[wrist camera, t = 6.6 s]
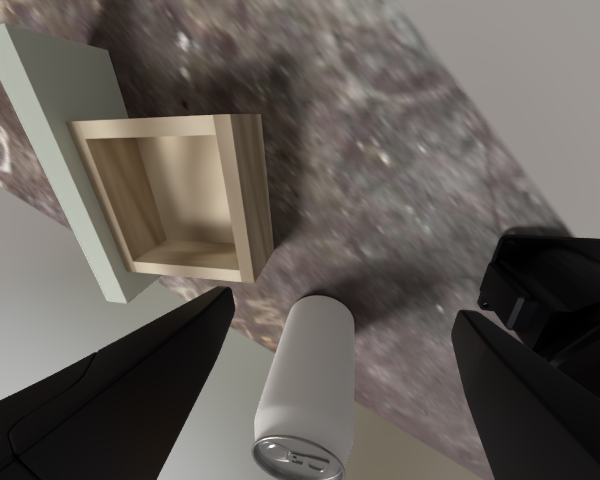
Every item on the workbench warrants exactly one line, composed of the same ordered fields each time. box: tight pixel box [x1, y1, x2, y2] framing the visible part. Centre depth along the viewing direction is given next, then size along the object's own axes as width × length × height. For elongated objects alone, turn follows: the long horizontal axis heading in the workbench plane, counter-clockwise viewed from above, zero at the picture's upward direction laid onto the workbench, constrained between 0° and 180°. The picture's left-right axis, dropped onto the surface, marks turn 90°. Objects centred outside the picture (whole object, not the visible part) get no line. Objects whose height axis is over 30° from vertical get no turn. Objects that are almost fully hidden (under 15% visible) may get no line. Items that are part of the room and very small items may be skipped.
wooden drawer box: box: [65, 114, 274, 283], centre depth 19 cm, size 11×11×5 cm
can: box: [251, 295, 354, 480], centre depth 20 cm, size 6×6×12 cm
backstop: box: [0, 24, 161, 303], centre depth 19 cm, size 2×18×6 cm, turn 2°
